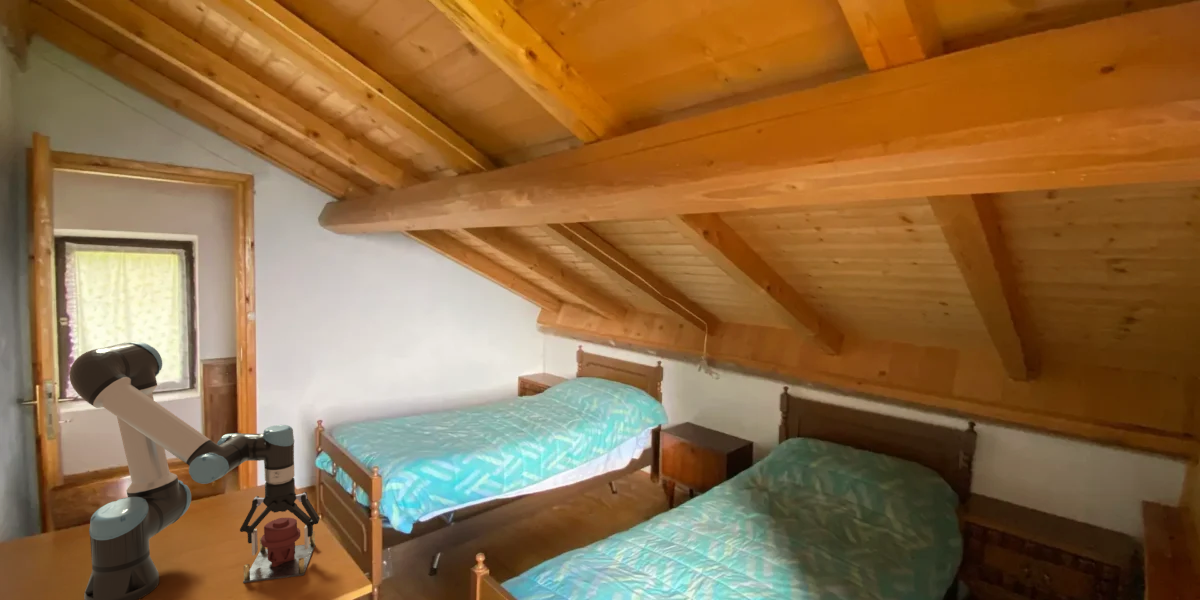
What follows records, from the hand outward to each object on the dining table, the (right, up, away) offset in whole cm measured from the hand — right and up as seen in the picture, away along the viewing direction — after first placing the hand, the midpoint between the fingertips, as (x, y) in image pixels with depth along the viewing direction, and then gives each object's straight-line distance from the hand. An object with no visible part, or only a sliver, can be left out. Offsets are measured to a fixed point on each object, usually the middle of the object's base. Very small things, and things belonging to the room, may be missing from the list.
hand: (281, 550), depth 165 cm
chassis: (0, -4, 0) cm, 4 cm away
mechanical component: (0, -4, 0) cm, 4 cm away
